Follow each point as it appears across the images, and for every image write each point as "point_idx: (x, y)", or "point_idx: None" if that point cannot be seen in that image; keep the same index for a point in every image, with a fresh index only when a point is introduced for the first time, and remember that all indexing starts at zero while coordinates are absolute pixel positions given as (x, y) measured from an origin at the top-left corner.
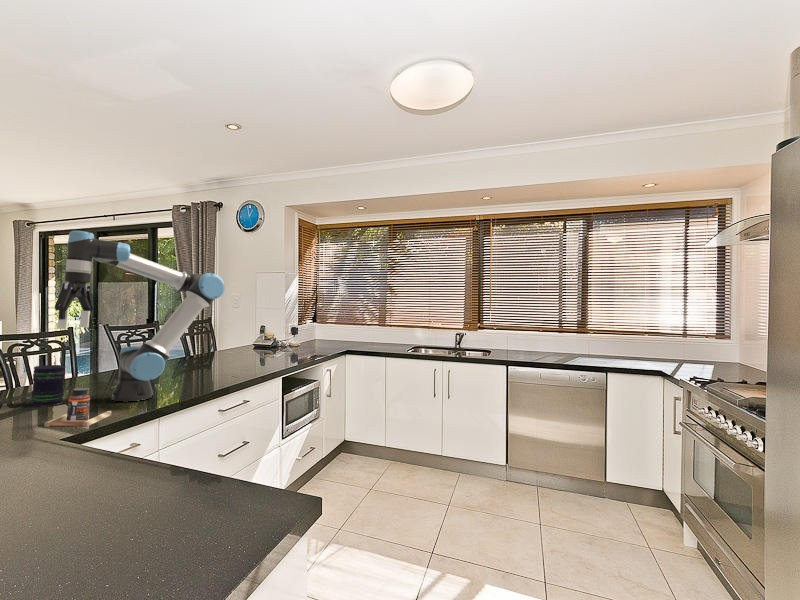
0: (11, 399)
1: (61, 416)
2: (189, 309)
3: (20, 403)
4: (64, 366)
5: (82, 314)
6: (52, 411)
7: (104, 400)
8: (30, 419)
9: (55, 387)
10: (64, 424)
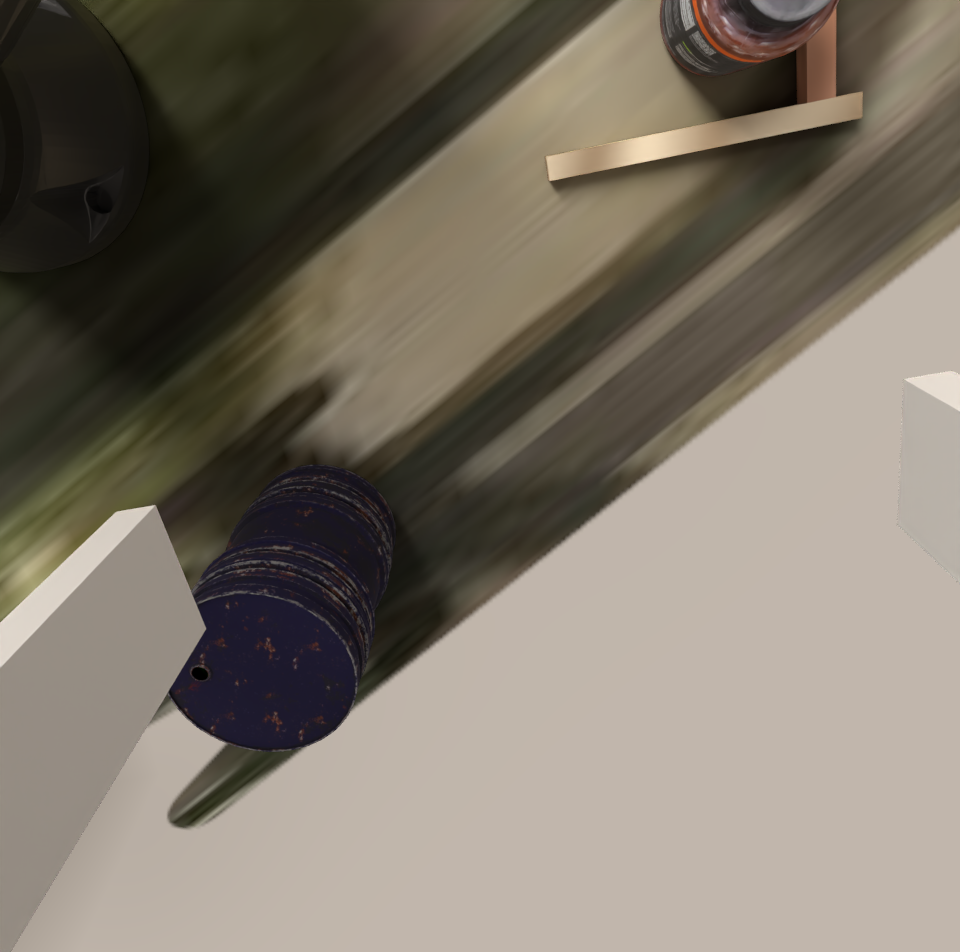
0: None
1: (701, 141)
2: None
3: None
4: None
5: (49, 823)
6: (486, 365)
7: (132, 289)
8: (678, 333)
9: (321, 522)
10: None
